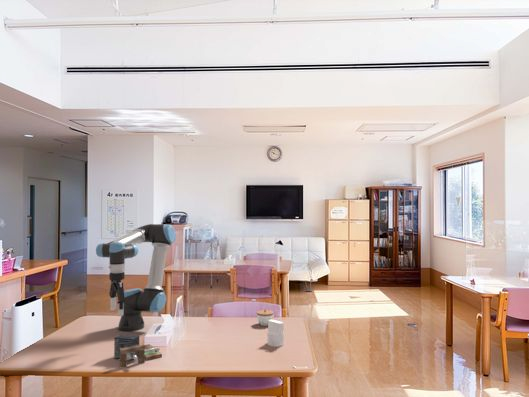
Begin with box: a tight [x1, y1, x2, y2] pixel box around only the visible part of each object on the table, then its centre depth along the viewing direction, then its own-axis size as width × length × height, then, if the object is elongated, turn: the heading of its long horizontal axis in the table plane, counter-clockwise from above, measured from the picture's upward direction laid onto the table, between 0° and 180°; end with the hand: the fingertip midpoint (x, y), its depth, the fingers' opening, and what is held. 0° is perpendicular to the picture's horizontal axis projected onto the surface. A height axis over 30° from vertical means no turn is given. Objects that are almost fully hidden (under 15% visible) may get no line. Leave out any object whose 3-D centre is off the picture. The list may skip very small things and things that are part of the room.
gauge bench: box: [119, 343, 163, 369], centre depth 208 cm, size 20×20×8 cm
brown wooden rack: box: [120, 343, 160, 362], centre depth 200 cm, size 19×10×6 cm, turn 125°
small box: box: [113, 334, 140, 362], centre depth 207 cm, size 11×6×10 cm, turn 76°
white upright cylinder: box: [267, 319, 285, 347], centre depth 227 cm, size 9×9×12 cm
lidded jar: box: [256, 308, 275, 327], centre depth 263 cm, size 11×11×9 cm
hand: (116, 312), depth 219 cm, fingers open, 13 cm apart
